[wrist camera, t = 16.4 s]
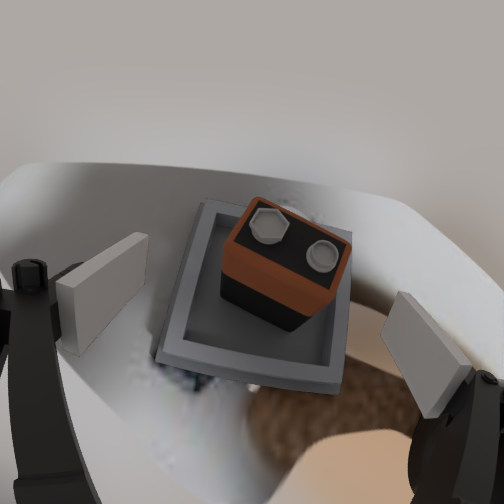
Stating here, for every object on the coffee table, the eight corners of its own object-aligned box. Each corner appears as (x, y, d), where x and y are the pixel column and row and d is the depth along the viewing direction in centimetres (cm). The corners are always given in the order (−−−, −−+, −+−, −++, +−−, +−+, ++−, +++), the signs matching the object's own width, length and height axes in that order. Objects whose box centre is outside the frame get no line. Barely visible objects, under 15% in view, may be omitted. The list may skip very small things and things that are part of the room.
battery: (241, 255, 26) (258, 182, 17) (311, 291, 25) (362, 234, 16) (217, 297, 24) (220, 238, 15) (291, 335, 23) (339, 299, 15)
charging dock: (334, 394, 22) (349, 394, 20) (157, 362, 22) (149, 358, 19) (347, 241, 29) (359, 226, 27) (201, 208, 29) (200, 189, 26)
